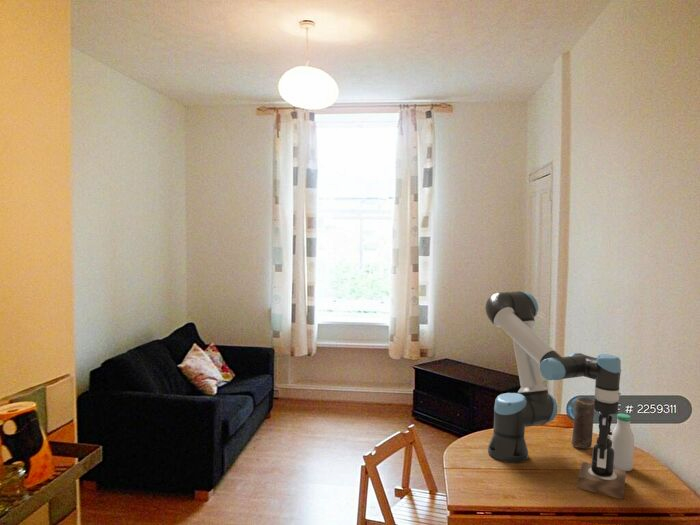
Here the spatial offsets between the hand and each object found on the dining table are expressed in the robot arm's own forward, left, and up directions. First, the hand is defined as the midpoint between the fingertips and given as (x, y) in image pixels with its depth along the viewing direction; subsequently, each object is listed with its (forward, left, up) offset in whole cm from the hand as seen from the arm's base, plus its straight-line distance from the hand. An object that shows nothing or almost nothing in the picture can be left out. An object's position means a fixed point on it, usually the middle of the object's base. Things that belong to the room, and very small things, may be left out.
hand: (603, 459), depth 182 cm
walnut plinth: (0, 0, -9) cm, 9 cm away
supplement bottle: (0, 0, -5) cm, 5 cm away
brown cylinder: (-10, +32, -9) cm, 35 cm away
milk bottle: (+5, +20, -9) cm, 23 cm away
